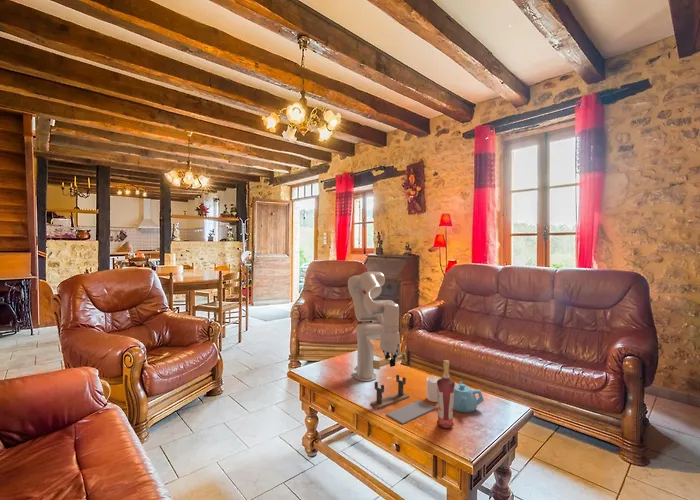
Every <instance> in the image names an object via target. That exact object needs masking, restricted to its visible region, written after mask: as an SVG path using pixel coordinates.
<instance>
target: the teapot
mask: <svg viewBox="0 0 700 500" xmlns="http://www.w3.org/2000/svg"><path fill="white" fill-rule="evenodd" d="M476 394H478V395H477V396H478V398H477V397H476ZM484 400H485V399H484V395H483V394H482V389H472V388H471V387H469V386H468V385H466V384H465V383H463V381H459V383H458V384H456V385H455V388H454V403H453V411H456V412H459V413H467V414H468V413H472V412H474V411H475V410H476V409H477V408H478V405H480V404H482V403H483V402H484Z"/></svg>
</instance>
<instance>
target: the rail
mask: <svg viewBox="0 0 700 500" xmlns="http://www.w3.org/2000/svg"><path fill="white" fill-rule="evenodd" d="M400 353H401V355H400V356H397V358H396V359H395V363H397V362H401V361H403V362H407V361H408V359H407V358H408V357H407V352H400ZM390 359H391V356H390V358H387V359H385V358H384V359H380V360H377V359H376V360H375V359H374V360H373V369H374V370H381V367H384V366H387V365H390Z"/></svg>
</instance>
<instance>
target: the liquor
mask: <svg viewBox="0 0 700 500" xmlns="http://www.w3.org/2000/svg"><path fill="white" fill-rule="evenodd" d="M442 368H443V369H442V378H441V377H440V378H441V379H439V380H438V381H437V396H438V402H437V421H436V423H437V425H438V426H439V427H440V428H442V429H445V430H447V429H448V430H449V429H450V428H452V427H453V426H454V422H453V420H454V410H453V403H454V388H455V384H456V383H455V381H454V380H452V379H450V360H447V359H443V360H442Z"/></svg>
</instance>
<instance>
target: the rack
mask: <svg viewBox="0 0 700 500" xmlns="http://www.w3.org/2000/svg"><path fill="white" fill-rule="evenodd" d="M406 380H407V379H406V377H405V376H403V377H402V380H401V379H400V374H396V376H395V382H397V383H398V384H397V391H398V392H395V393H392V394H390V395H387V396H385V397H382V396H383V393H385V384H380V387H379V382H378V381H374V390H376V400H374V401H371V402H370V403H369V405H370V406H371V407H373V408H375V409H377V410H382V409H384V408H386V407H388V406H392V405H394V404H396V403H399V402H401V401H404V400H407V399H409V398H410V395H409V394H407V393H405V392H404V385H406V384H407V382H406Z"/></svg>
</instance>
